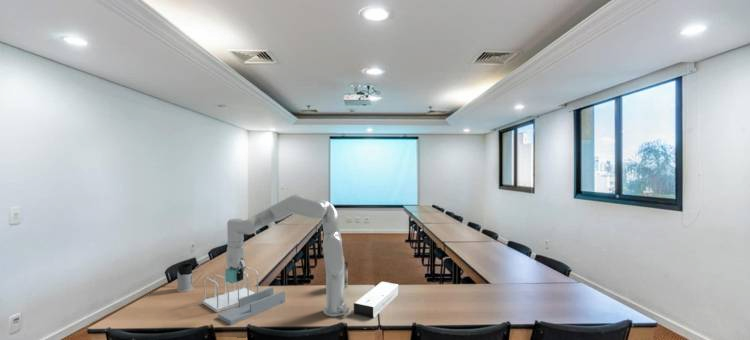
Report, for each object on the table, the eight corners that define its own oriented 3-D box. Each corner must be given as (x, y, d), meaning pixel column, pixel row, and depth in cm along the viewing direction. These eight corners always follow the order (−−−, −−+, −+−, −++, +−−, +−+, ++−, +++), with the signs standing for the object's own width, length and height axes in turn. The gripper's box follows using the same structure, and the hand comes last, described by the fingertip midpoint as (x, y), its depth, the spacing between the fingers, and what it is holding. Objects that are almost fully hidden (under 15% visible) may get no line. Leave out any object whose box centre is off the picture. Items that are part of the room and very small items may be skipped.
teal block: (243, 280, 166) (242, 268, 166) (232, 283, 161) (231, 271, 161) (236, 277, 170) (236, 266, 170) (225, 281, 165) (225, 269, 165)
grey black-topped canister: (177, 288, 205) (176, 264, 204) (203, 284, 211) (202, 261, 211) (176, 293, 197) (176, 268, 196) (203, 289, 204) (202, 265, 203)
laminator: (373, 319, 164) (373, 307, 164) (351, 314, 169) (351, 302, 169) (398, 294, 194) (398, 284, 194) (379, 291, 200) (379, 281, 200)
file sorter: (216, 313, 171) (216, 283, 171) (202, 304, 182) (201, 276, 182) (260, 297, 190) (259, 271, 190) (244, 290, 201) (244, 265, 201)
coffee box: (338, 291, 198) (338, 265, 198) (330, 289, 202) (330, 263, 202) (348, 287, 206) (348, 261, 205) (340, 284, 210) (340, 259, 209)
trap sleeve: (285, 302, 184) (284, 291, 184) (231, 325, 158) (230, 312, 158) (271, 296, 191) (271, 286, 191) (218, 318, 165) (217, 306, 165)
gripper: (219, 242, 168) (220, 277, 169) (238, 247, 158) (239, 284, 158) (233, 239, 174) (233, 273, 175) (252, 244, 164) (252, 280, 164)
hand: (236, 278), depth 166 cm, fingers closed on teal block, 6 cm apart
